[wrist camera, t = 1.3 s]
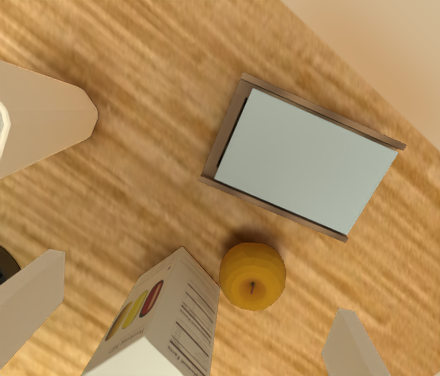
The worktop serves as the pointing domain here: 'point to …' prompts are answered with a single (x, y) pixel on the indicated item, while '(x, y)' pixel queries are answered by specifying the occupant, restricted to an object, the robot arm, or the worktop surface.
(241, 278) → the apple
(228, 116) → the box
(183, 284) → the supplement box
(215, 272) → the worktop surface
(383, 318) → the worktop surface
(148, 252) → the worktop surface
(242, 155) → the cover plate
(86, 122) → the cup
